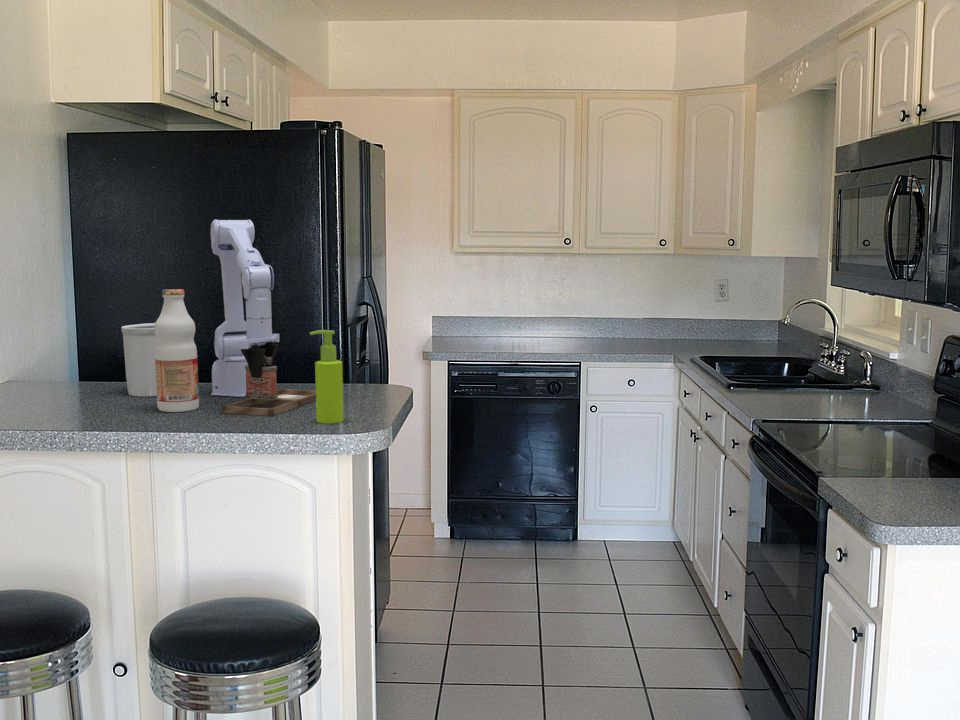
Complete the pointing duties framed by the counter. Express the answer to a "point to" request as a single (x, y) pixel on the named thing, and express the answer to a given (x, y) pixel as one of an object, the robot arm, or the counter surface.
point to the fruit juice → (176, 356)
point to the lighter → (262, 382)
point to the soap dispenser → (328, 382)
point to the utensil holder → (140, 359)
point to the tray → (272, 403)
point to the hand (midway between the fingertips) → (260, 376)
